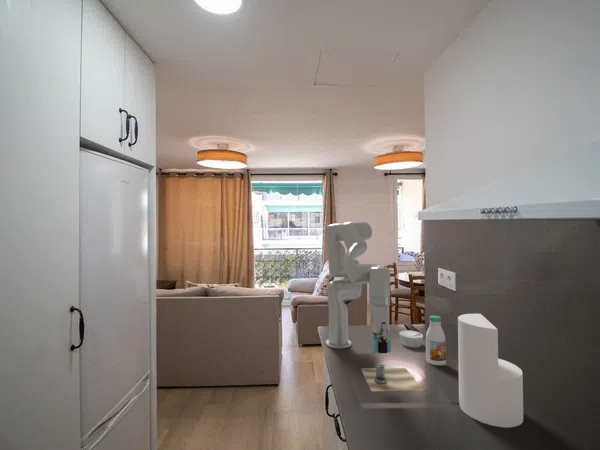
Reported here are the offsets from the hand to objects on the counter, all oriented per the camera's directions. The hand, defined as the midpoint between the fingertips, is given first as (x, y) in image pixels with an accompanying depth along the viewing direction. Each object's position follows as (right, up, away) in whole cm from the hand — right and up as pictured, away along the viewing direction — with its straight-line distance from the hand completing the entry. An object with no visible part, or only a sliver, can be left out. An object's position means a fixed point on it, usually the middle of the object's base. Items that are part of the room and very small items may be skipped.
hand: (380, 348), depth 116 cm
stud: (0, -12, 0) cm, 12 cm away
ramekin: (+26, -14, +40) cm, 50 cm away
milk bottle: (+28, -13, +17) cm, 35 cm away
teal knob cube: (0, 0, 0) cm, 0 cm away
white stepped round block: (+30, -13, -17) cm, 37 cm away
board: (+4, -13, +2) cm, 14 cm away
